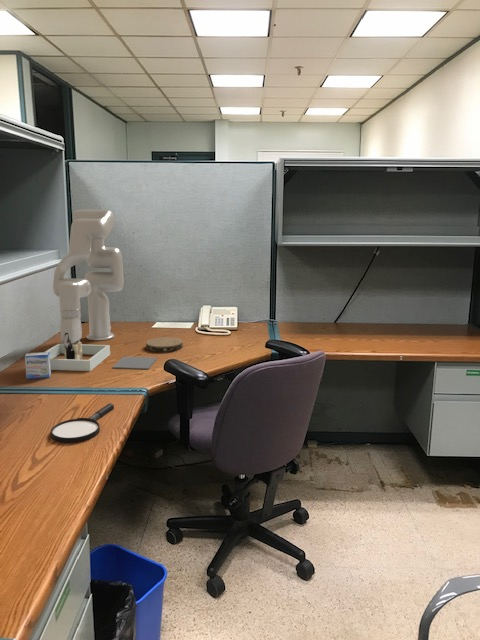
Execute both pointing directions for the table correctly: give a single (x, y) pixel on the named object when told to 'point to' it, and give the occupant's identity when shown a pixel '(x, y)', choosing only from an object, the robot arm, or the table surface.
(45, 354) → the medicine box
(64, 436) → the magnifying glass
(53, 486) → the table surface
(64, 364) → the white shallow tray
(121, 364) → the mat
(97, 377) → the table surface
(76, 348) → the maple block
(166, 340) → the tambourine
